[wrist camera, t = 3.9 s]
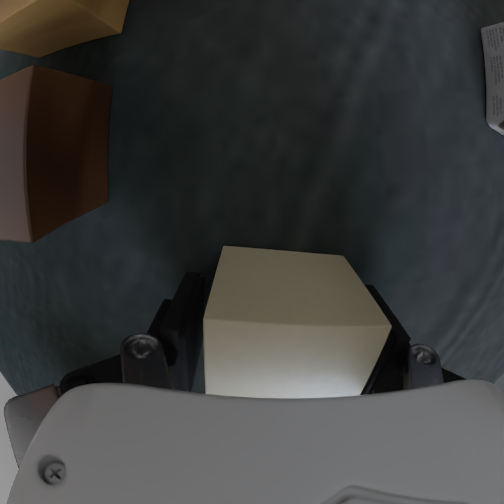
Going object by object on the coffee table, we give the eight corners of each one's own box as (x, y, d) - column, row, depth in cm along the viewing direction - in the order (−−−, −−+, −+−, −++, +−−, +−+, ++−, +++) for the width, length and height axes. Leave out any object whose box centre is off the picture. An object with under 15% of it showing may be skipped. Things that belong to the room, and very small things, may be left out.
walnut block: (32, 104, 8) (-44, 105, 4) (113, 85, 9) (33, 63, 4) (31, 202, 10) (-40, 235, 6) (109, 202, 10) (32, 244, 6)
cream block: (223, 245, 11) (202, 318, 6) (343, 255, 11) (392, 326, 7) (219, 341, 13) (206, 426, 8) (319, 346, 13) (341, 427, 8)
